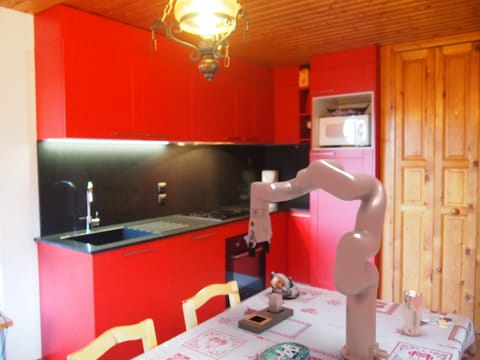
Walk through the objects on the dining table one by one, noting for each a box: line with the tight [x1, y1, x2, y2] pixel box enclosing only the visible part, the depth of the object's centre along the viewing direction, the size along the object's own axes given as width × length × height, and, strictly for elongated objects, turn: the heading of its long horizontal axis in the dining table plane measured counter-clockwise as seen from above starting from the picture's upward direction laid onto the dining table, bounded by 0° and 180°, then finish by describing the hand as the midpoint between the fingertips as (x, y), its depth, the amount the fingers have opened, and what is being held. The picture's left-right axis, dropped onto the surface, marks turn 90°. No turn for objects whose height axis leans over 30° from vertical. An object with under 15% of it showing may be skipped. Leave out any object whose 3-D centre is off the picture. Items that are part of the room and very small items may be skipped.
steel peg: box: [268, 292, 283, 314], centre depth 164 cm, size 4×4×9 cm
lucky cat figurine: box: [270, 271, 301, 299], centre depth 190 cm, size 15×12×14 cm
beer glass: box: [401, 290, 424, 337], centre depth 149 cm, size 7×7×15 cm
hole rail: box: [237, 305, 294, 335], centre depth 159 cm, size 10×24×3 cm, turn 141°
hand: (259, 254), depth 161 cm, fingers open, 9 cm apart
